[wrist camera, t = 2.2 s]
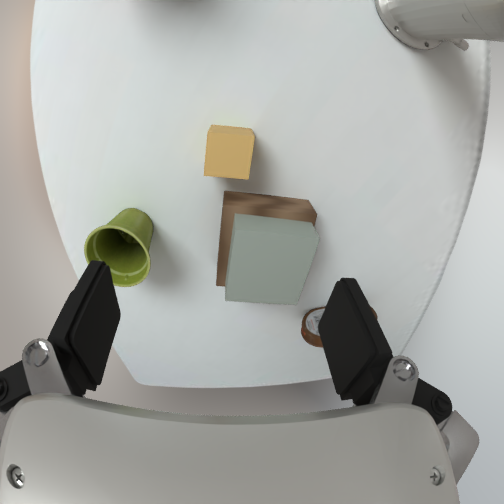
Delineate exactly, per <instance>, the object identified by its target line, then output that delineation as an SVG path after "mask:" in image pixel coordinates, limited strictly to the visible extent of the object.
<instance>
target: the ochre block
mask: <svg viewBox="0 0 504 504" xmlns="http://www.w3.org/2000/svg"><path fill="white" fill-rule="evenodd" d="M254 139H255V136H254V134H253V131H252V129H250V128H242V127H232V126H221V125H211V127H210V129H209V131H208V134H207V144H206V155H205V166H204V176H214V177H226V178H237V179H247V180H249V173H250V166H251V159H252V153H253V146H254Z"/></svg>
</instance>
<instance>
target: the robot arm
mask: <svg viewBox="0 0 504 504" xmlns="http://www.w3.org/2000/svg"><path fill="white" fill-rule="evenodd" d="M375 4H376V8H377V11H378V13H379V16H380V17H381V19H382V21H383V23H384V24H385V25H386V27H387V28H388V29H389V30H390V31H391V33H392V34H393V35H394V36H395V37H397V38H398V39H399V40H400V41H402V42H403V43H405V44H407V45H408V46H411V47H413V48H417V49H426V50H427V49H433V48H435V47H437V46H438V45H440V44H441V42H442V41H443V40H447V41H448V42H453V43H454V44H455V45H456V46H458V47H459V48H461V49H462V50H463V51H466V50H467V49H468V47H469V45H468V43H467V42H466V41H465V40H464V39H476V40H490V41H500V42H504V0H375ZM119 321H120V309H119V305H118V301H117V297H116V293H115V289H114V284H113V280H112V275H111V270H110V267H109V265H106V263H105V262H104V261H96V260H92V261H91V262H90V263H89V265H88V266H87V268H86V270H85V271H84V273H83V275H82V277H81V278H80V280H79V282H78V284H77V286H76V287H75V289H74V290H73V291H72V292H71V293H70V295H69V297H68V299H67V301H66V303H65V304H64V306H63V308H62V310H61V312H60V314H59V316H58V318H57V320H56V322H55V324H54V326H53V328H52V330H51V333H50V335H49V337H48V339H47V340H45V339H40V338H39V339H35V340H32V341H31V342H29V343H28V344H27V345H26V346H25V348H24V350H23V353H22V360H21V361H19V362H18V363H16V364H14V365H12V366H10V367H8V368H6V369H5V370H3V371H1V372H0V504H460V501H459V496H458V491H457V487H456V485H457V483H458V481H459V480H460V478H461V477H462V475H463V473H464V472H465V470H466V468H467V466H468V465H469V463H470V461H471V459H472V457H473V456H474V454H475V452H476V450H477V448H478V445H479V436H478V434H477V432H476V431H475V430H474V429H473V428H472V427H471V426H470V425H469V424H468V423H467V421H466V420H465V419H464V418H463V417H462V416H461V415H460V414H459V413H458V412H457V411H456V410H454V411H452V403H451V400H450V398H449V397H448V396H447V395H446V394H445V393H444V392H442V391H440V390H438V389H437V388H435V387H433V386H431V385H430V384H428V383H426V382H425V381H423V380H421V379H420V378H418V375H419V372H418V368H417V366H416V365H415V363H414V362H413V361H412V360H411V359H409V358H408V357H405V356H395V357H393V355H392V351H391V348H390V346H389V344H388V342H387V340H386V338H385V336H384V334H383V332H382V329H381V327H380V325H379V323H378V321H377V319H376V317H375V315H374V313H373V311H372V309H371V307H370V305H369V303H368V302H367V300H366V298H365V296H364V294H363V292H362V290H361V288H360V286H359V284H358V283H357V281H356V279H354V278H341V279H340V281H337V282H336V284H335V287H334V289H333V291H332V294H331V296H330V298H329V301H328V303H327V305H326V308H325V310H324V312H323V314H322V317H321V319H320V321H319V324H318V332H319V335H320V338H321V342H322V345H323V348H324V352H325V355H326V358H327V362H328V365H329V369H330V372H331V376H332V379H333V383H334V385H335V389H336V393H337V394H340V397H341V400H348V399H353V403H354V404H353V406H352V407H350V408H343V409H335V410H328V411H319V412H310V413H300V414H287V415H267V416H213V415H212V416H211V415H195V414H182V413H172V412H163V411H155V410H147V409H141V408H134V407H128V406H123V405H117V404H112V403H107V402H102V401H97V400H92V399H88V398H85V396H84V394H85V392H86V389H88V390H93V391H96V388H97V385H100V384H101V381H102V378H103V374H104V370H105V367H106V363H107V359H108V356H109V353H110V349H111V346H112V343H113V340H114V336H115V333H116V330H117V327H118V324H119Z"/></svg>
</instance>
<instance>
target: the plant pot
mask: <svg viewBox="0 0 504 504" xmlns="http://www.w3.org/2000/svg"><path fill="white" fill-rule="evenodd" d="M121 230H122V231H123V233H124V234H122V232H121ZM152 233H153V225H152V221H151V219H150V218H149V216H148V215H147V214H146V213H144V212H142V211H140V210H138V209H135V208H128V209H125V210H123V211H122V212H120V213H119V214H118V215H117V216H116V217H115V218H114V219H112V220H111V221H110V222H109V223H108V224H107V225H104V226H101V227H98V228H96V229H95V230H94V231H92V232H91V233H90V234H89V236H88V237H87V239H86V242H85V245H84V253H85V258H86V261H87V263H88V265H89V263H90V262H91V261H92V260H96V261H104V262H105V263H106V265H109V267H110V270H111V275H112V280H113V284H114V285H115V286H120V287H131V286H134V285H137V284H139V283H141V282H142V281H143V280H144V279H145V278H146V277H147V275H148V273H149V270H150V265H151V260H150V255H149V247H150V242H151V238H152Z"/></svg>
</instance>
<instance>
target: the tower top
mask: <svg viewBox="0 0 504 504" xmlns="http://www.w3.org/2000/svg"><path fill="white" fill-rule="evenodd" d="M319 240H320V238H319V236H318V234H317V232H316V230H315V228H314V226H313V224H312V223H311V222H304V221H296V220H288V219H280V218H272V217H263V216H254V215H245V214H236V213H235V216H234V222H233V229H232V237H231V244H230V251H229V258H228V266H227V273H226V281H225V301H236V302H251V303H268V304H288V305H297V302H298V300H299V297H300V294H301V292H302V289H303V286H304V283H305V281H306V278H307V275H308V272H309V269H310V266H311V264H312V261H313V258H314V255H315V252H316V249H317V246H318V243H319Z"/></svg>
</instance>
